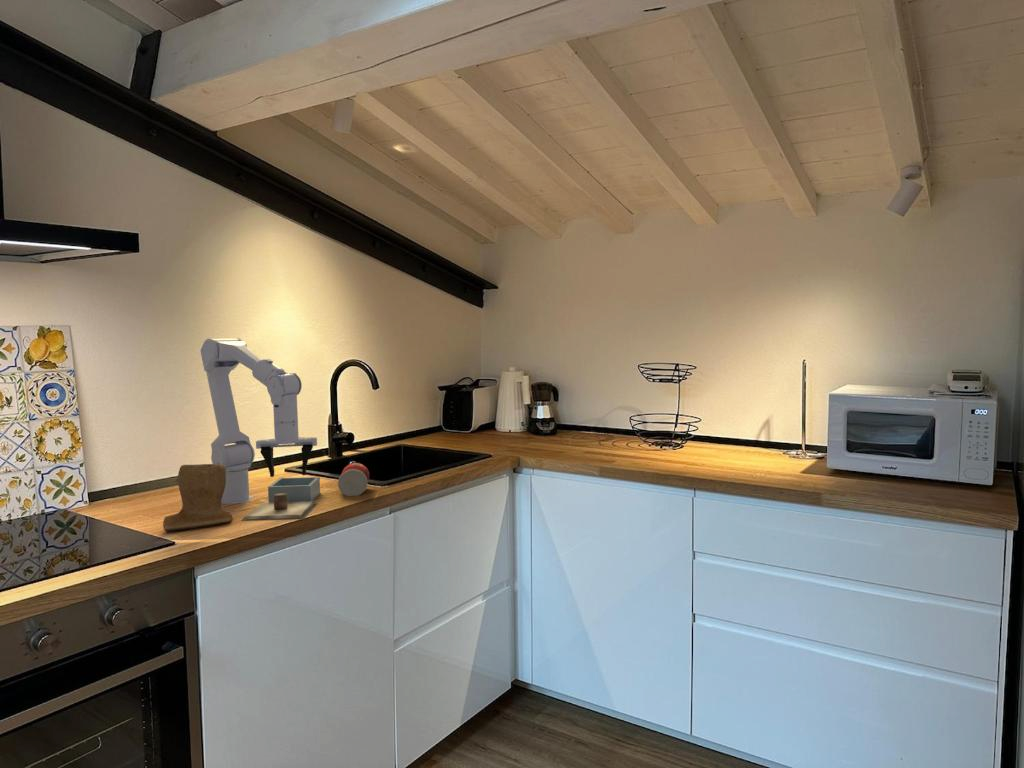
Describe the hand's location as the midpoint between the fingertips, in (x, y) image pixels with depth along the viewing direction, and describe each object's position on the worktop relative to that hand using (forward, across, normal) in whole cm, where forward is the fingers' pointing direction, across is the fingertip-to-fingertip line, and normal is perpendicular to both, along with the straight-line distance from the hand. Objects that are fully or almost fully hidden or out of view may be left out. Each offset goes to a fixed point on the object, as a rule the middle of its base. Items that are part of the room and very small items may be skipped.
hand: (288, 475), depth 173 cm
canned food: (+6, +16, +23) cm, 29 cm away
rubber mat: (+10, -2, -1) cm, 10 cm away
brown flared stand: (+10, -20, -7) cm, 24 cm away
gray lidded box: (+9, 0, +13) cm, 16 cm away
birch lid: (+9, -2, -1) cm, 9 cm away
